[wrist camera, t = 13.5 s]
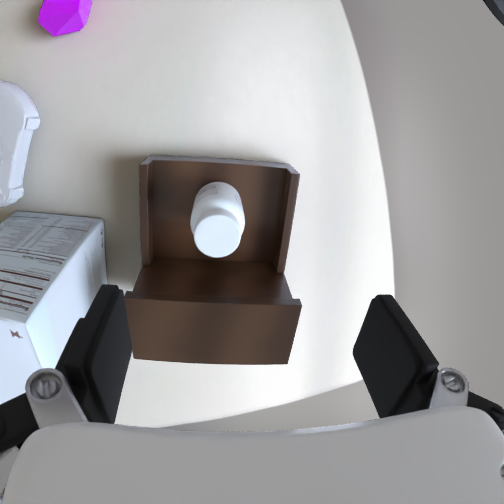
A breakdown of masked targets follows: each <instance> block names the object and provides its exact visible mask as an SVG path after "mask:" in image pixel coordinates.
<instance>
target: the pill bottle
mask: <svg viewBox="0 0 504 504" xmlns="http://www.w3.org/2000/svg"><path fill="white" fill-rule="evenodd" d="M190 225H191V230H192V233H193V235H194V241H195V244H196V246H197V247H198V249H199V250H200V251H201V252H202V253H204V254H205V255H208V256H210V257H224V256H227V255H229V254H231V253H232V252H233V251H235V250H236V248H237V247H238V245H239V243H240V240H241V235H242V233H243V230H244V226H245V218H244V212H243V207H242V202H241V198H240V196H239V193H238V192H237V190H236V189H235V188H234V187H232V186H231V185H229V184H227V183H224V182H212V183H209V184H207V185H205V186H204V187H202V188H201V189H200V190H199V192H198V193H197V195H196V198H195V201H194V206H193V210H192V214H191V220H190Z"/></svg>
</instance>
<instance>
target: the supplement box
mask: <svg viewBox="0 0 504 504" xmlns="http://www.w3.org/2000/svg"><path fill="white" fill-rule="evenodd" d="M102 284H107V275H106V260H105V240H104V220H103V219H97V218H88V217H78V216H67V215H56V214H45V213H33V212H20V211H16V212H14V213H13V214H12V215H10V216H9V217H8V218H6V219H5V220H4V221H2V222H1V223H0V404H2V403H4V402H6V401H8V400H11V399H13V398H15V397H17V396H19V395H21V394H23V393H25V392H26V390H25V385H26V381H27V379H28V378H29V376H30V375H31V374H32V373H33V372H35V371H37V370H39V369H43V368H53V369H55V367H56V365H57V362H58V360H59V358H60V356H61V354H62V352H63V349H64V347H65V345H66V343H67V341H68V339H69V337H70V335H71V333H72V331H73V329H74V327H75V325H76V323H77V321H78V320H79V318H81V317H82V318H85V316H86V314H87V312H88V310H89V308H90V306H91V304H92V302H93V300H94V298H95V296H96V294H97V292H98V290H99V289H100V287H101V285H102Z"/></svg>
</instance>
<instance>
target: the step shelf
mask: <svg viewBox="0 0 504 504" xmlns="http://www.w3.org/2000/svg"><path fill="white" fill-rule="evenodd" d="M299 178H300V174H299V173H298V172H297V171H296V170H295V169H294V168H293V167H292V166H291V165H290V164H283V163H273V162H263V161H252V160H239V159H225V158H209V157H188V156H156V155H150V156H149V157H148V158H146V159H145V160H144V161H143V162H142V163H141V164H140V165H139V197H140V233H141V253H142V269H141V271H140V274H139V276H138V279H137V282H136V284H135V287H134V289H133V292H132V291H126V293H125V296H124V300H125V306H126V313H127V319H128V325H129V331H130V337H131V342H132V352H133V357H134V359H143V360H154V361H167V362H183V363H202V364H239V365H270V364H288V360H289V356H290V352H291V348H292V345H293V341H294V337H295V333H296V328H297V324H298V320H299V316H300V312H301V308H302V304H301V302H300V299H293V298H292V295H291V293H290V290H289V287H288V284H287V281H286V278H285V275H284V270H285V264H286V259H287V253H288V247H289V241H290V235H291V229H292V223H293V217H294V210H295V204H296V198H297V191H298V185H299ZM212 182H224V183H227V184H229V185H231V186H232V187H234V188H235V189H236V190H237V192H238V193H239V196H240V198H241V202H242V207H243V212H244V218H245V226H244V230H243V233H242V235H241V240H240V243H239V245H238V247H237V248H236V250H235V251H233V252H232V253H231V254H229V255H227V256H224V257H210V256H208V255H205V254H204V253H202V252H201V251H200V250H199V249H198V247H197V246H196V244H195V241H194V235H193V233H192V230H191V225H190V220H191V214H192V210H193V206H194V201H195V198H196V195H197V193H198V192H199V190H200V189H201V188H202V187H204V186H205V185H207V184H209V183H212Z"/></svg>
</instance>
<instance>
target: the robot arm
mask: <svg viewBox="0 0 504 504" xmlns="http://www.w3.org/2000/svg"><path fill="white" fill-rule="evenodd" d="M131 353H132V342H131V337H130V331H129V325H128V319H127V313H126V306H125V300H124V293H123V290H121V289H119V288H118V286H117V285H109V284H102V285H101V287H100V289H99V290H98V292H97V294H96V296H95V298H94V300H93V302H92V304H91V306H90V308H89V310H88V312H87V314H86V316H85V318H82V317H81V318H79V320H78V321H77V323H76V325H75V327H74V329H73V331H72V333H71V335H70V337H69V339H68V341H67V343H66V345H65V347H64V349H63V352H62V354H61V356H60V358H59V360H58V362H57V365H56V367H55V369H53V368H43V369H39V370H37V371H35V372H33V373H32V374H31V375H30V376H29V378H28V379H27V381H26V385H25V390H26V392H25V393H23V394H21V395H19V396H17V397H15V398H13V399H11V400H8V401H6V402H4V403H2V404H0V504H504V409H502V407H501V406H499V405H498V404H496V403H493V402H491V401H489V400H487V399H485V398H483V397H480V396H478V395H476V394H474V393H472V392H470V391H469V383H468V381H467V379H466V377H465V376H464V375H463V374H462V373H461V372H459V371H457V370H456V369H453V368H444V369H441V370H440V371H439V370H438V369H437V367H438V365H439V363H438V361H437V360H436V358H435V357H434V355H433V354H432V352H431V351H430V349H429V348H428V346H427V345H426V343H425V342H424V340H423V339H422V337H421V336H420V334H419V333H418V331H417V330H416V329H415V327H414V326H413V324H412V323H411V321H410V320H409V319H408V317H407V316H406V314H405V313H404V311H403V310H402V309H401V307H400V306H399V305H398V303H397V302H396V300H395V299H394V298H393V296H392V295H377V296H376V297H375V298H374V299H372V301H371V303H370V306H369V309H368V311H367V314H366V317H365V319H364V322H363V325H362V327H361V330H360V333H359V335H358V338H357V340H356V343H355V345H354V348H353V356H354V359H355V361H356V363H357V366H358V368H359V370H360V373H361V375H362V377H363V379H364V382H365V384H366V386H367V389H368V391H369V393H370V396H371V398H372V400H373V403H374V405H375V407H376V410H377V412H378V415H379V417H380V419H375V420H368V421H363V422H356V423H349V424H342V425H333V426H325V427H316V428H305V429H293V430H278V431H277V430H276V431H246V432H214V431H187V430H173V429H159V428H147V427H137V426H128V425H118V424H114V422H115V418H116V414H117V409H118V405H119V401H120V397H121V392H122V388H123V384H124V380H125V376H126V372H127V368H128V365H129V361H130V357H131ZM5 487H6V488H5ZM4 488H5V492H4V496H3V498H2V494H3V490H4Z"/></svg>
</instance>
